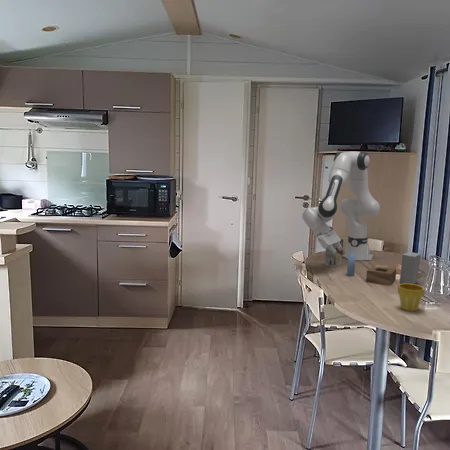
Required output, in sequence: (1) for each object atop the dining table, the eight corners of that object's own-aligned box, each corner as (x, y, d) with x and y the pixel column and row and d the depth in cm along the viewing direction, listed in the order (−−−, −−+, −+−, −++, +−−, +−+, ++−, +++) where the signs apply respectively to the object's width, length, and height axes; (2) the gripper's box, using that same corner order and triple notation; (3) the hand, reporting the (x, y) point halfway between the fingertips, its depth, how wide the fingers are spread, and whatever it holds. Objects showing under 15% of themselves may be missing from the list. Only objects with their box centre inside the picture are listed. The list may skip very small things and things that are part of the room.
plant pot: (427, 312, 183) (429, 289, 181) (403, 312, 182) (405, 290, 180) (414, 304, 193) (416, 283, 191) (392, 304, 192) (393, 283, 191)
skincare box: (405, 280, 232) (407, 251, 230) (419, 282, 227) (421, 253, 225) (398, 283, 226) (400, 253, 224) (412, 286, 221) (414, 255, 219)
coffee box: (333, 263, 268) (334, 237, 266) (342, 265, 264) (343, 239, 261) (324, 265, 262) (325, 239, 260) (333, 267, 258) (334, 241, 255)
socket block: (372, 276, 238) (373, 266, 237) (395, 280, 231) (396, 269, 230) (366, 281, 228) (366, 270, 227) (389, 285, 222) (390, 274, 221)
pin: (348, 273, 244) (349, 253, 242) (355, 275, 242) (356, 253, 240) (345, 275, 241) (347, 254, 239) (353, 276, 238) (354, 255, 236)
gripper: (319, 231, 237) (336, 250, 233) (333, 226, 254) (348, 245, 250) (311, 238, 240) (327, 257, 236) (325, 233, 257) (341, 251, 253)
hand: (338, 251), depth 243 cm, fingers open, 8 cm apart
